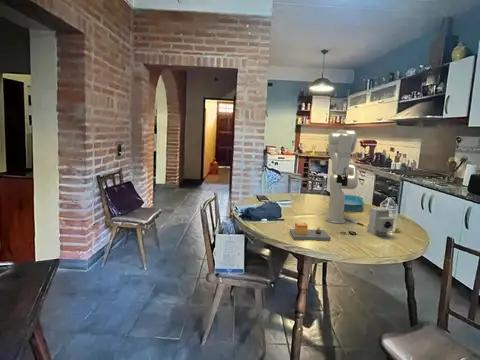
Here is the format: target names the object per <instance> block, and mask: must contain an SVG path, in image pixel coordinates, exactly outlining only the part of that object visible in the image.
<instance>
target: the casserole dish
mask: <svg viewBox="0 0 480 360" xmlns="http://www.w3.org/2000/svg"><path fill="white" fill-rule="evenodd" d="M344 194H345V193H344ZM364 205H365V201H364V199H363V197H361V196H359V195H352V194H347V193H346V194H345V203H344V212H351V213H352V212H353V213H359V212H361V211H362V209H363V208H364Z"/></svg>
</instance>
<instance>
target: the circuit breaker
mask: <svg viewBox="0 0 480 360" xmlns="http://www.w3.org/2000/svg"><path fill="white" fill-rule="evenodd" d="M368 215H369V218H368V224H367V228H366V229H367V231H366V232H367V233H369V234H371V235H373V236H375V237H379V236H387V235H388V233H389V232H394V231H393V230H394V224H395V223H394V220H395V219H394V217H391V216H390V209H387V208H385V207H381V206H376V207H375V206H373V207H369V210H368Z"/></svg>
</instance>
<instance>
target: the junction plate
mask: <svg viewBox="0 0 480 360" xmlns="http://www.w3.org/2000/svg"><path fill="white" fill-rule="evenodd" d="M294 230H295V228H289V234H290V233H291V234H290V235H292V236H291V238H292V237H293V238H292V239H295V240H294V241H304V240H316V242H320V241H321V242H331V236H330V235H329V234H328V233H327V231H325V230H324V229H321V227H320V226H317V227H316V229H307V235H298V234H296V233H295V231H294Z"/></svg>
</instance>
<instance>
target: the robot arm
mask: <svg viewBox="0 0 480 360" xmlns="http://www.w3.org/2000/svg"><path fill="white" fill-rule="evenodd" d="M357 141H358V134H357V132H356V131H355V130H353V129H338V130H336V131H332V132H330V133H329V135H328V148H327V149H328V154H329V158H330V160H331V173H332V174H331V175H330V177H329V193H330V194H329V203H328V217H327V216H326V217H325V221H326V222H328V223H332V224H344V223H346V219H345V218H344V214H345V213H344V212H345V211H344V203H345V193H344V191H343V190H346V189H347V190H354V189H355V190H356V188H357V187H358V185H359V179H358V176H359V175H358V168H357V165H356V164H355V163H353V162H350V159H351V155H352V153H354V152H355V149H356V146H357V145H356V144H357Z"/></svg>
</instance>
